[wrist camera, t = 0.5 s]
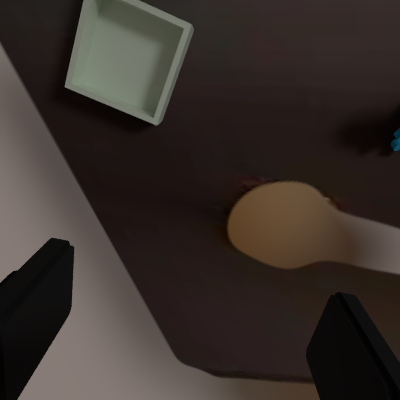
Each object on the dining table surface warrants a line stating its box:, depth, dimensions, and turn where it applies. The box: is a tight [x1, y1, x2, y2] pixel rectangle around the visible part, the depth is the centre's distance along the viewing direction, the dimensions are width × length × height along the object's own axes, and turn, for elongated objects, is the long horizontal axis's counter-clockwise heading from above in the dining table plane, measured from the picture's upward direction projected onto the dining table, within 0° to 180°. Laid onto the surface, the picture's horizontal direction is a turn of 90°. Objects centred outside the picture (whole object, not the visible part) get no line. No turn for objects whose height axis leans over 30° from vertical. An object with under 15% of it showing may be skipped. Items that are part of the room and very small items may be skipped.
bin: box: [65, 0, 194, 125], centre depth 33 cm, size 11×11×4 cm
